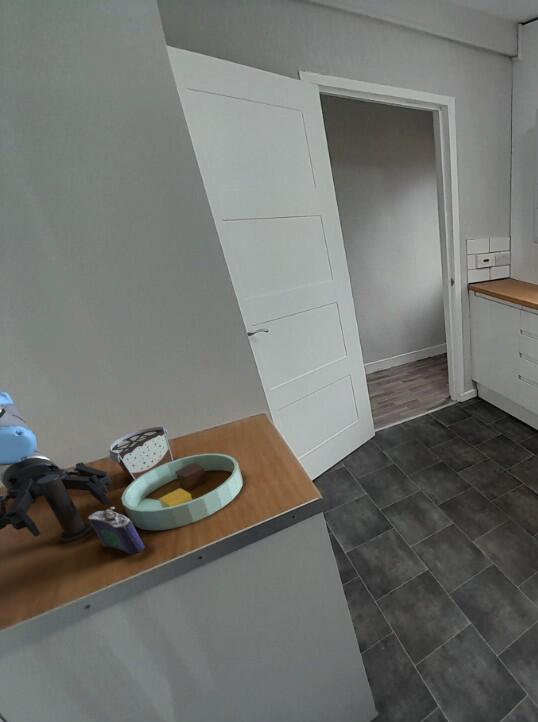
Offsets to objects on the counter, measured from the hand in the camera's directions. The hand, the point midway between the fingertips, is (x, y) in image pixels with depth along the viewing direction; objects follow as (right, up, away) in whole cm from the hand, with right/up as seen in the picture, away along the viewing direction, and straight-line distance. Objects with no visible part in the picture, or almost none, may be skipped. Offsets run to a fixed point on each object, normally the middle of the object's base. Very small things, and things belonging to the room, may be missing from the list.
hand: (71, 513), depth 75 cm
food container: (-9, +2, +26) cm, 28 cm away
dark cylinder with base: (-4, -7, +6) cm, 10 cm away
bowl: (+8, -2, +17) cm, 19 cm away
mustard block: (+10, -4, +13) cm, 16 cm away
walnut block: (+6, 0, +21) cm, 22 cm away
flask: (+8, -9, +3) cm, 12 cm away
